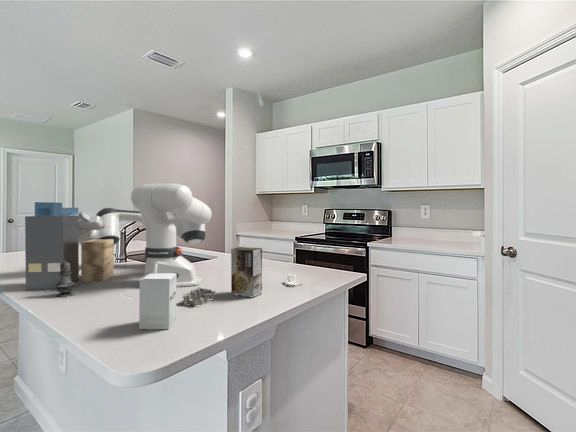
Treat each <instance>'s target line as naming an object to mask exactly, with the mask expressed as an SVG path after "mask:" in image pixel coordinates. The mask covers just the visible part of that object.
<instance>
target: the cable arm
mask: <svg viewBox="0 0 576 432" xmlns="http://www.w3.org/2000/svg"><path fill="white" fill-rule="evenodd" d="M34 216H35V217H57V216H79V207H63V202H47V201H46V202H43V201H42V202H41V201H37V202H36V201H35V202H34Z"/></svg>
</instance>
